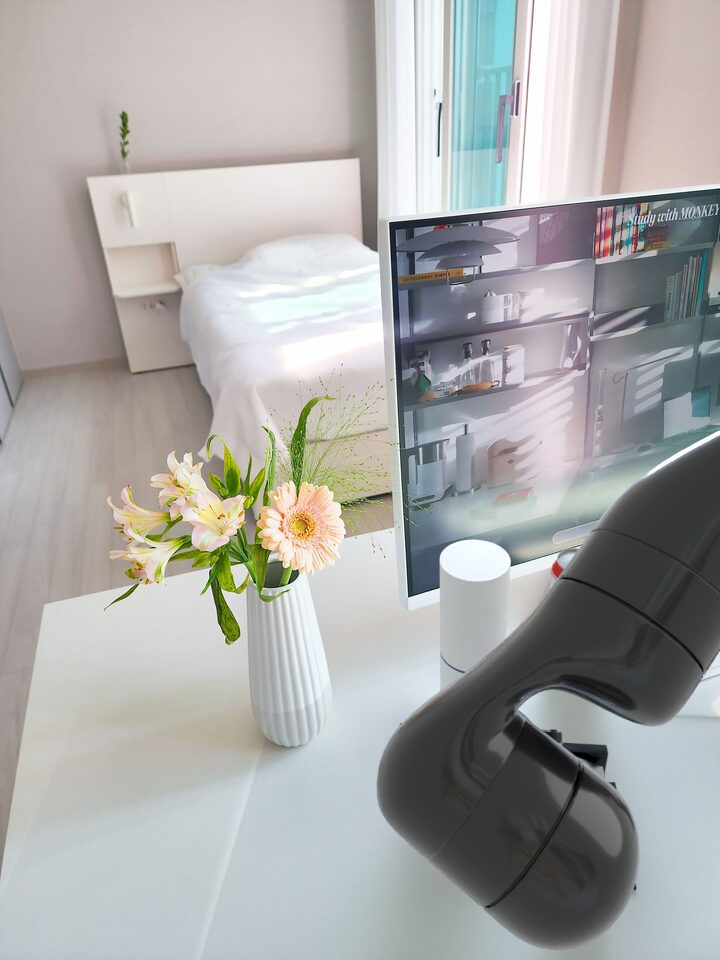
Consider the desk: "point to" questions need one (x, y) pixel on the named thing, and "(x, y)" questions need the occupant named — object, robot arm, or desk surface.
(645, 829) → the desk surface
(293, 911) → the desk surface
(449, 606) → the cylindrical container
